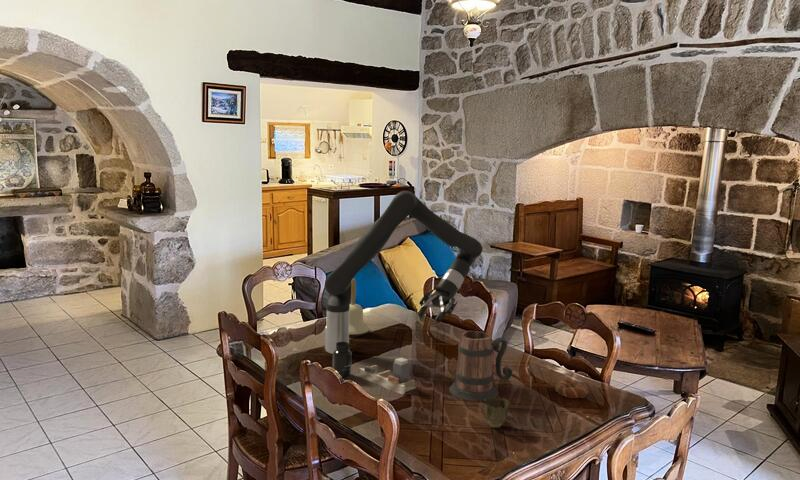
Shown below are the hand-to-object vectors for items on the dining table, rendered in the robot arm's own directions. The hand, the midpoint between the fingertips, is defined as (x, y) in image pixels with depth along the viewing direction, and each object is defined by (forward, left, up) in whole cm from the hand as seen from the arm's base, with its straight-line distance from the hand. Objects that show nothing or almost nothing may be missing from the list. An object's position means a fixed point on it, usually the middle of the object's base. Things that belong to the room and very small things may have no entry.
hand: (428, 319), depth 214 cm
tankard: (+22, +4, -21) cm, 31 cm away
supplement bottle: (-20, -24, -21) cm, 38 cm away
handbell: (-57, +13, -21) cm, 62 cm away
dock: (-4, -16, -21) cm, 27 cm away
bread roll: (+45, +25, -22) cm, 56 cm away
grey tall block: (+2, -16, -21) cm, 26 cm away
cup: (+42, -16, -21) cm, 50 cm away
